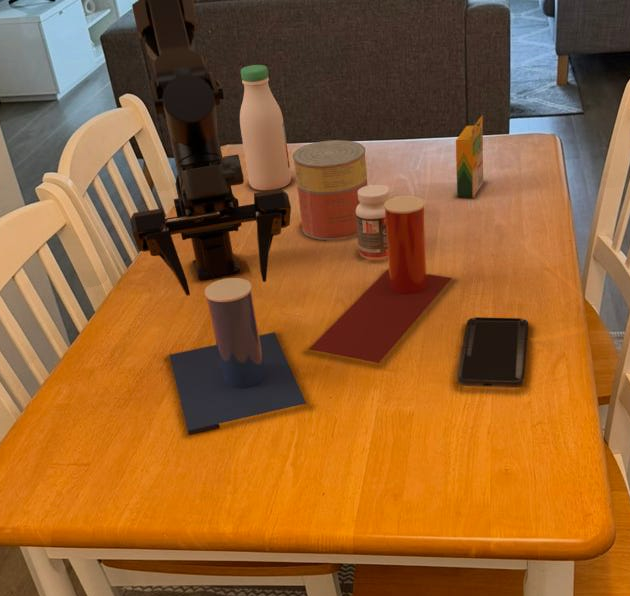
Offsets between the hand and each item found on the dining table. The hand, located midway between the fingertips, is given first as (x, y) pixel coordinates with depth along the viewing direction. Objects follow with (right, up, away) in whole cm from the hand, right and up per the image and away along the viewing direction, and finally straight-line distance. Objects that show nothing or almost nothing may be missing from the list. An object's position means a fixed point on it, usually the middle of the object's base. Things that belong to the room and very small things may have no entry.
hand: (226, 287), depth 105 cm
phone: (+32, -8, +4) cm, 34 cm away
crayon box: (+34, +26, +47) cm, 64 cm away
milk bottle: (-1, +30, +56) cm, 64 cm away
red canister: (+23, +4, +19) cm, 30 cm away
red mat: (+19, -1, +14) cm, 24 cm away
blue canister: (+2, -10, +4) cm, 11 cm away
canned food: (+12, +18, +39) cm, 44 cm away
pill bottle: (+18, +11, +30) cm, 37 cm away
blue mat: (0, -11, +4) cm, 12 cm away
